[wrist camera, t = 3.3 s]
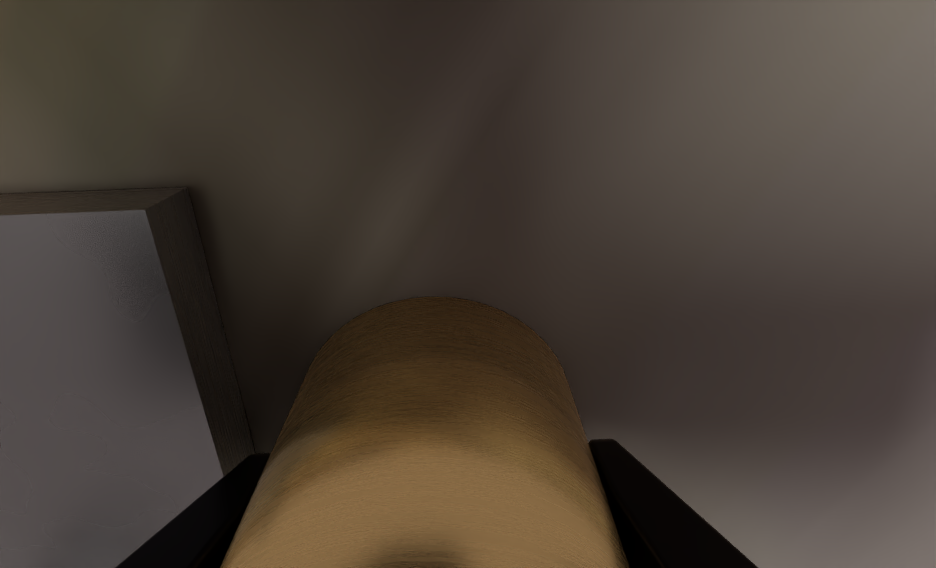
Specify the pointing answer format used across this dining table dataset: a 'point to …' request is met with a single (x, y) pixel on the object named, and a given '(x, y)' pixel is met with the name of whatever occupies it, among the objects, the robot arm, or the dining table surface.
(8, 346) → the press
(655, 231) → the dining table surface
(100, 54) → the dining table surface
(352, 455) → the cylinder
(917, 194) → the dining table surface
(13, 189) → the dining table surface
